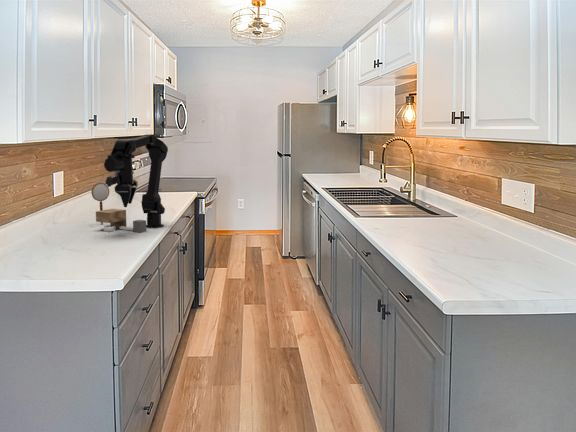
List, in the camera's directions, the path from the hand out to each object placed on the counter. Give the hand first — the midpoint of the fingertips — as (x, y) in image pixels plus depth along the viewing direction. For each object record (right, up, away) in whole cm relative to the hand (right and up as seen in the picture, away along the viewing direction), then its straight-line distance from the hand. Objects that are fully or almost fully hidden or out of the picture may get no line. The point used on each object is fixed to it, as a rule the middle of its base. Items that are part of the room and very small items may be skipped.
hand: (127, 205), depth 236 cm
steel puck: (-10, -12, +8) cm, 17 cm away
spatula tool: (-1, -11, +8) cm, 14 cm away
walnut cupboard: (-11, -11, +12) cm, 19 cm away
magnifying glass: (-19, -9, +23) cm, 32 cm away
